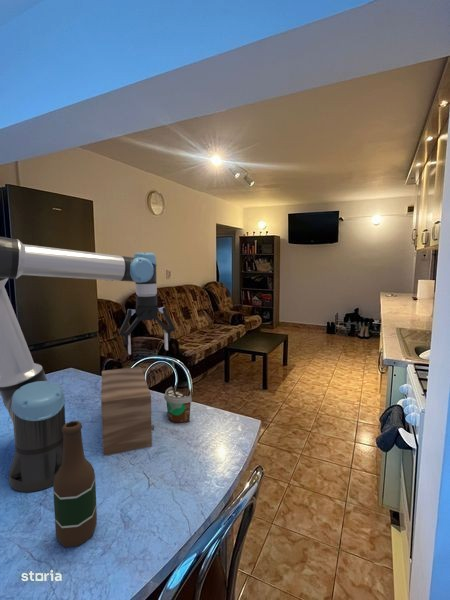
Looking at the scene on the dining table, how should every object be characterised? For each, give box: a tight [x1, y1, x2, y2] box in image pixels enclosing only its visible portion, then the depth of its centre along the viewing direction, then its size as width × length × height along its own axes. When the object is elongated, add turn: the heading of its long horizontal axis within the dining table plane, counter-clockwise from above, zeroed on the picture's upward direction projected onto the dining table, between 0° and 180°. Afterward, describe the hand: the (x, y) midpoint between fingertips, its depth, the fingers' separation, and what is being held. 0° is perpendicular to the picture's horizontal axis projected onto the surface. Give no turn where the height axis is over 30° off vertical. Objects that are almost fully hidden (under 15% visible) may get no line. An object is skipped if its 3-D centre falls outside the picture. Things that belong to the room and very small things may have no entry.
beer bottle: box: [52, 420, 98, 548], centre depth 64 cm, size 8×8×24 cm
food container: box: [163, 386, 193, 425], centre depth 112 cm, size 12×6×10 cm, turn 45°
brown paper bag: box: [100, 366, 153, 457], centre depth 106 cm, size 28×14×16 cm, turn 21°
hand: (148, 351), depth 117 cm, fingers open, 13 cm apart
